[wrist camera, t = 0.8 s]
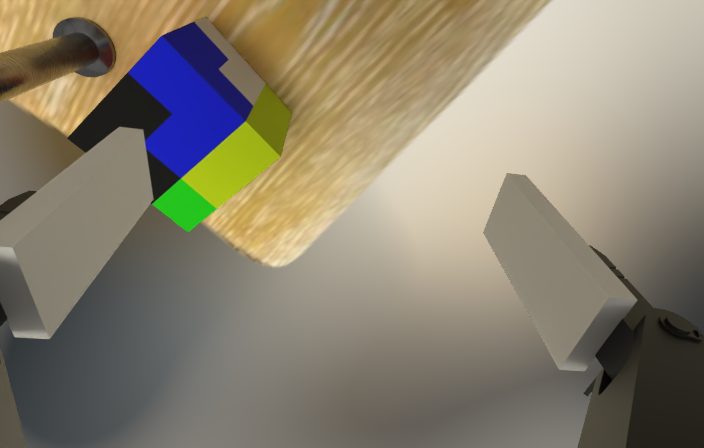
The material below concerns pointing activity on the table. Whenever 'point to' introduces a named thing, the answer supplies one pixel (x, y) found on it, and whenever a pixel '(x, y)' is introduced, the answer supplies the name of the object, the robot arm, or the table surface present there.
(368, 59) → the table surface
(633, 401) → the robot arm
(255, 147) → the puzzle toy
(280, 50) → the table surface
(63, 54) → the post
